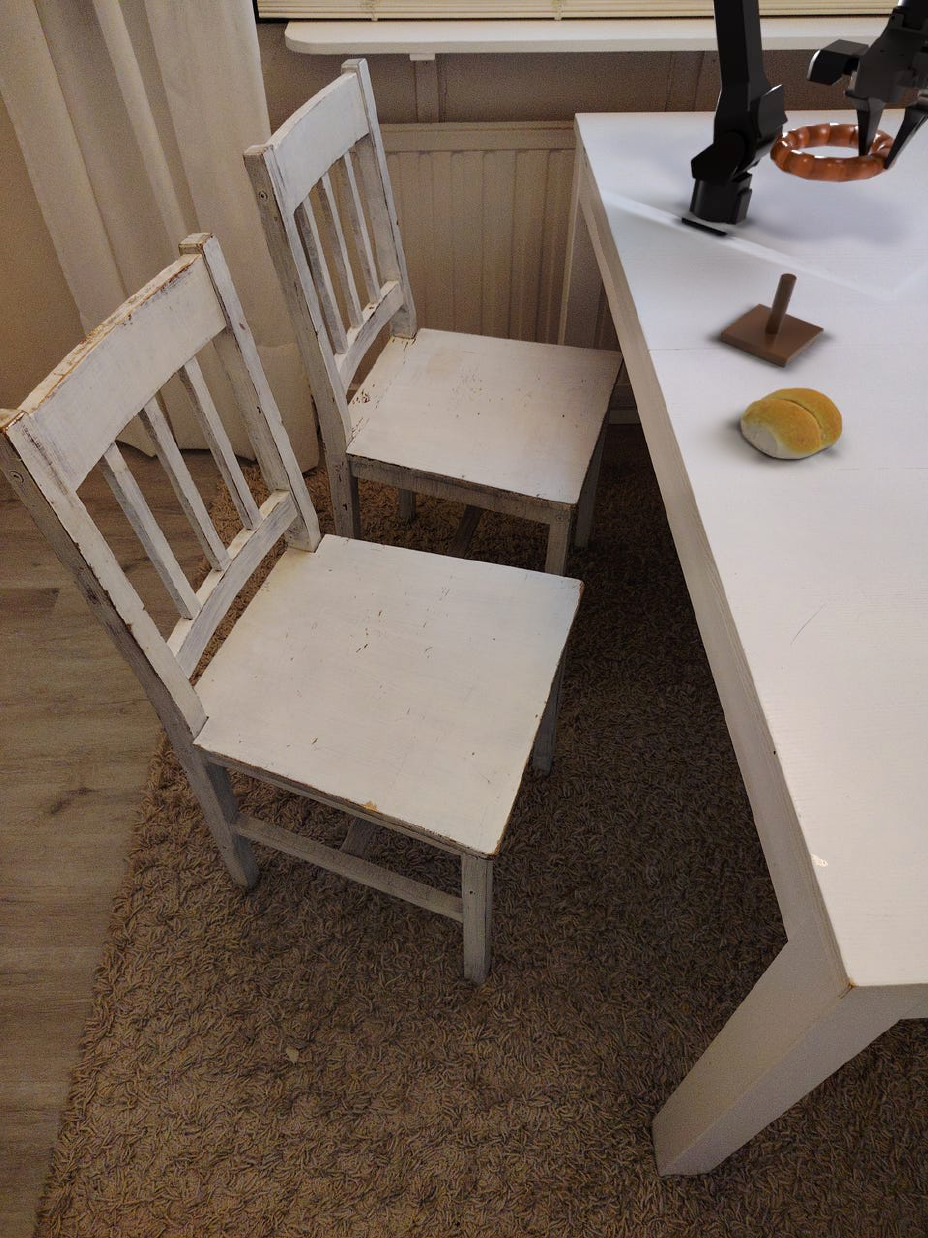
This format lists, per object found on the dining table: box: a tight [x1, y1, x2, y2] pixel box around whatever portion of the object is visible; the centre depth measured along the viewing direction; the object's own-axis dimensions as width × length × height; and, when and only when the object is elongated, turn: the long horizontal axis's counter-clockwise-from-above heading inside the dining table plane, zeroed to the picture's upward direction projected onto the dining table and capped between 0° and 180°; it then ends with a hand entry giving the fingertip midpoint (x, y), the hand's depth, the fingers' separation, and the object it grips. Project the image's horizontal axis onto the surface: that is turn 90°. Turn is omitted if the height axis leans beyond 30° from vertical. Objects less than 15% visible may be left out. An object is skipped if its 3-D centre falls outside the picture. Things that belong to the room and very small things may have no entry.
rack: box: [718, 272, 825, 368], centre depth 85 cm, size 8×8×7 cm
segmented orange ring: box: [769, 122, 898, 183], centre depth 93 cm, size 14×14×2 cm
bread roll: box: [740, 387, 843, 460], centre depth 75 cm, size 8×9×4 cm
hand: (874, 165), depth 89 cm, fingers closed on segmented orange ring, 2 cm apart
